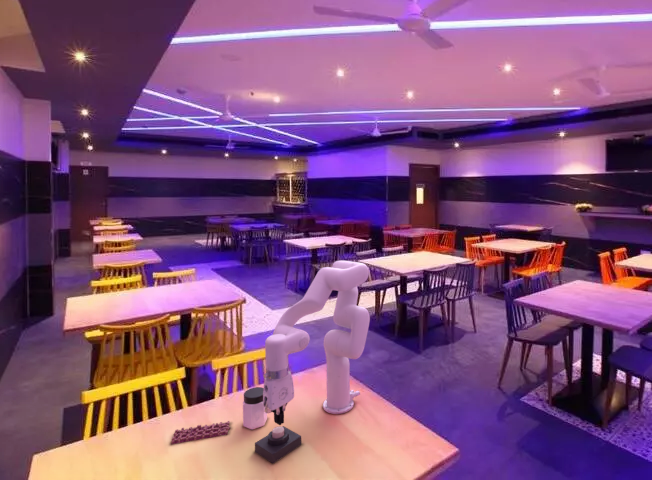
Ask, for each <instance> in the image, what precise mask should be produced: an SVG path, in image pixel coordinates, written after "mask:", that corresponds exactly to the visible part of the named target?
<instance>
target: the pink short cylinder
mask: <svg viewBox="0 0 652 480" xmlns="http://www.w3.org/2000/svg"><path fill="white" fill-rule="evenodd" d="M271 431H272V437H273V438H276V439H278V438H281V437H283V436H284V428H283V427H282V426H281V425H279V426H276V427H273V428H272V430H271Z"/></svg>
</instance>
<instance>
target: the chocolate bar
mask: <svg viewBox="0 0 652 480" xmlns="http://www.w3.org/2000/svg"><path fill="white" fill-rule="evenodd" d="M229 430H231V426H230V420H227V421H226V422H224V423H223V422H222V421H221V422H216V423H212V424H210V425H208V424H205V425H202V424H198V425H196V427H192V426H190V427H189V428H185V427H181V429H175V430H174V433H173V437H172V438H171V445H176V444H182V443H188V442H193V441H199V440H204V439H205V440H206V439H209V438H216V437H221V436H228V434H229Z"/></svg>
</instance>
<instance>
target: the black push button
mask: <svg viewBox="0 0 652 480" xmlns="http://www.w3.org/2000/svg"><path fill="white" fill-rule="evenodd" d="M281 427H283V428H284V436H283V437H281V438H278V439H276V438H273V437H272V430H271V431H269V433H268V434H267V435H265V436H263V437H262V438H261V439H259V440H257V441H256V442H254V453H256V454H257V455H259V456H260V457H262V458H264V459H265V460H267V461H268V462H270V463H271V464H275V463H277V462H278V461H280V460H281V459H282V458H284V457H285V456H287V455H288V454H290V453H292V452H293V451H295V449H297V448H299V447H300V446H301V445H302V435H301V434H298V433H297V432H295V431H293V430H291V428H288V427H286V426H284V425H282V426H281Z"/></svg>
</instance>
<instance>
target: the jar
mask: <svg viewBox="0 0 652 480" xmlns="http://www.w3.org/2000/svg"><path fill="white" fill-rule="evenodd" d="M263 389H264V387H262V386H255V387H251V388H249V389H247V390H245V391H244V392H243V402H242V426H243V427H244V428H247V429H250V430H255V429H258V428H261V427H264V426H265V424H266V422H267V420H268V413H265V412H264V411H265V406H264V404H263Z"/></svg>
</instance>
